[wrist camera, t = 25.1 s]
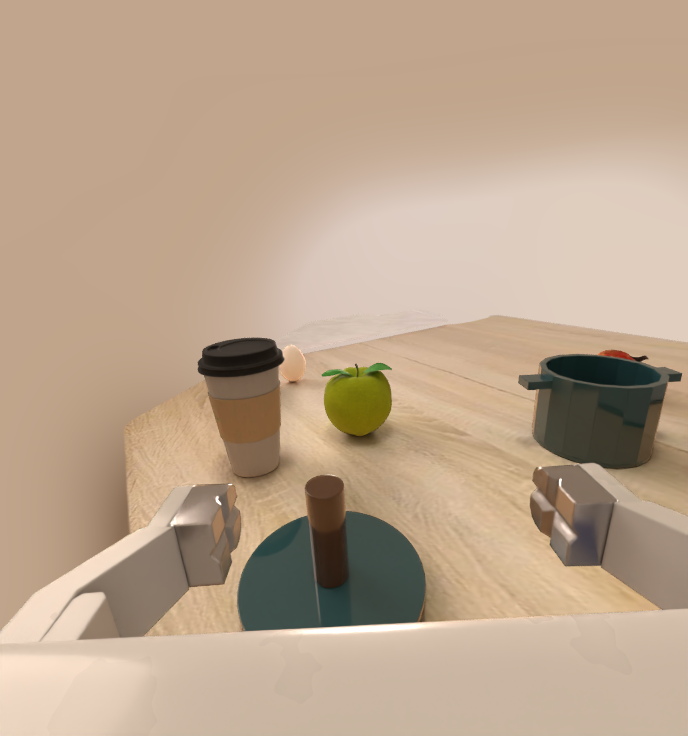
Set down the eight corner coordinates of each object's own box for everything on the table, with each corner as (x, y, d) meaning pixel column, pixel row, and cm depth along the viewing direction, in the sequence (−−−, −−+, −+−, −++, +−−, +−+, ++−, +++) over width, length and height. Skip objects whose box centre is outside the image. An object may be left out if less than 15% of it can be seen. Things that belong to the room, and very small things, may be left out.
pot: (704, 463, 40) (728, 382, 37) (543, 472, 40) (553, 392, 37) (621, 414, 52) (634, 350, 49) (496, 422, 52) (501, 358, 49)
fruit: (394, 446, 47) (394, 373, 44) (323, 447, 48) (317, 375, 45) (391, 415, 56) (390, 352, 53) (330, 416, 56) (325, 354, 53)
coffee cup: (208, 460, 46) (186, 346, 42) (276, 436, 51) (263, 332, 47) (231, 498, 39) (207, 364, 34) (309, 467, 44) (297, 345, 39)
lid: (453, 675, 21) (460, 555, 18) (217, 703, 20) (188, 583, 18) (402, 514, 34) (401, 430, 31) (255, 528, 33) (242, 443, 30)
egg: (279, 378, 75) (275, 343, 73) (304, 374, 76) (301, 340, 74) (282, 387, 70) (278, 350, 68) (309, 383, 71) (306, 346, 69)
